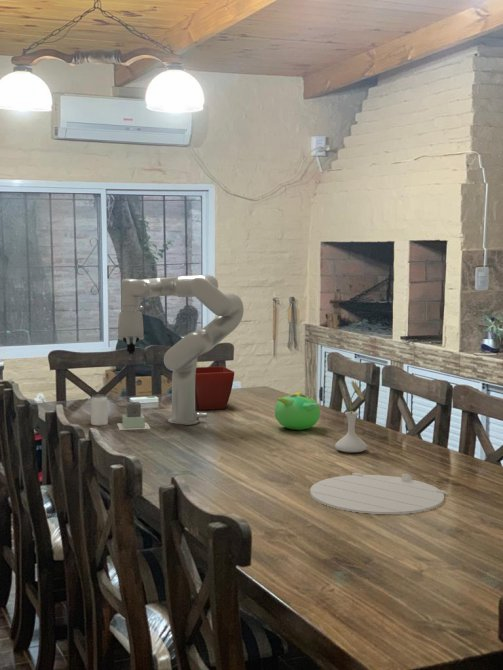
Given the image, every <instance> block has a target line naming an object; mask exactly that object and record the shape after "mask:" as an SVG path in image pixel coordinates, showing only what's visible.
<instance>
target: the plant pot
mask: <svg viewBox="0 0 503 670" xmlns="http://www.w3.org/2000/svg"><path fill="white" fill-rule="evenodd" d="M234 378H235V371H233V370H232V369H229V368H227V367H225V366H202V367H201V366H199V367H198V366H196V379H195V410H196V411H197V410H198V411H204V410H205V411H207V410H223V409H226V408H227V406H228V403H229V400H230V396H231V393H232V389H233V383H234Z"/></svg>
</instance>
